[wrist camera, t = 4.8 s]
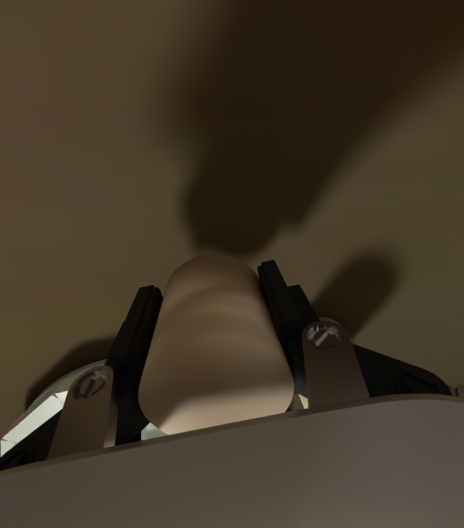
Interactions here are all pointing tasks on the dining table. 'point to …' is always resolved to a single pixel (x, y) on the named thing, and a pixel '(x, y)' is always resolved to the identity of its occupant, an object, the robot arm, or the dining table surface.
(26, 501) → the robot arm
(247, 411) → the tan egg
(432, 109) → the dining table surface
